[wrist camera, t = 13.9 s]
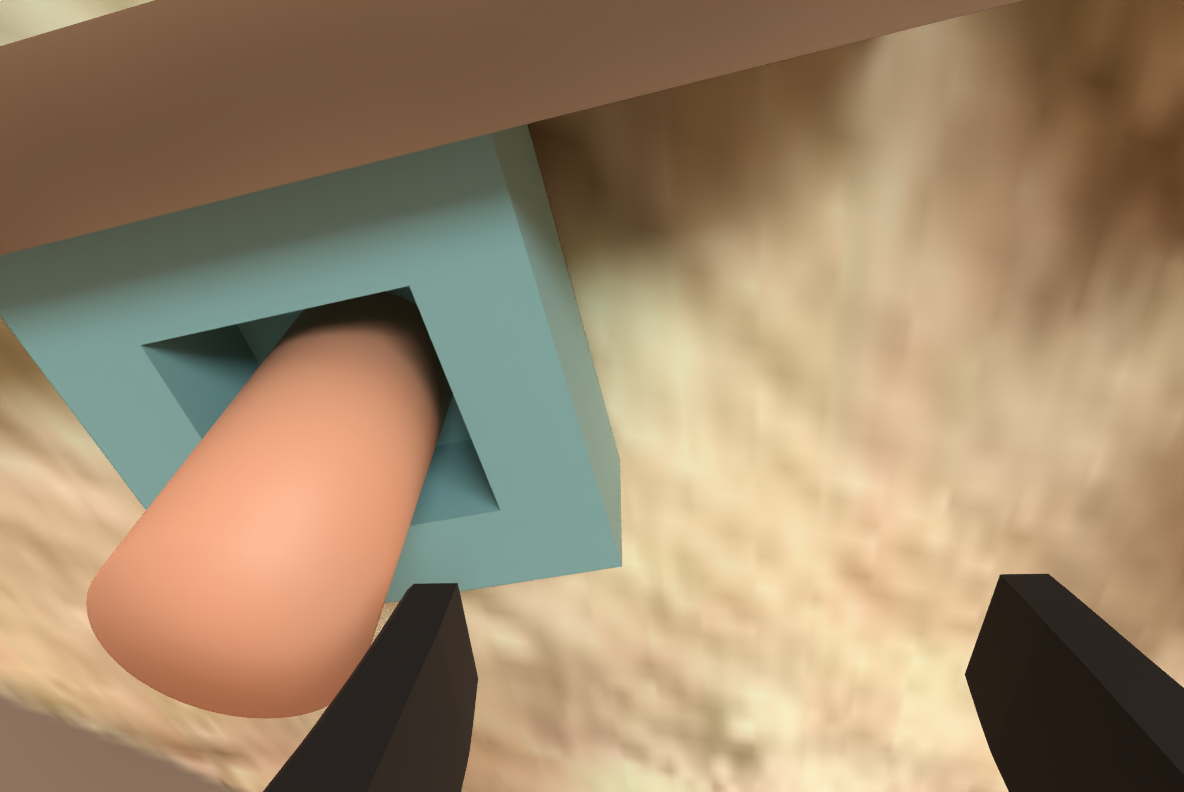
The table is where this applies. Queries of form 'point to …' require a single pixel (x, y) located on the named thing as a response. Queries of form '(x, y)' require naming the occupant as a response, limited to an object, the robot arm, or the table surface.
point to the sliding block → (335, 273)
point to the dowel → (283, 520)
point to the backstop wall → (349, 87)
